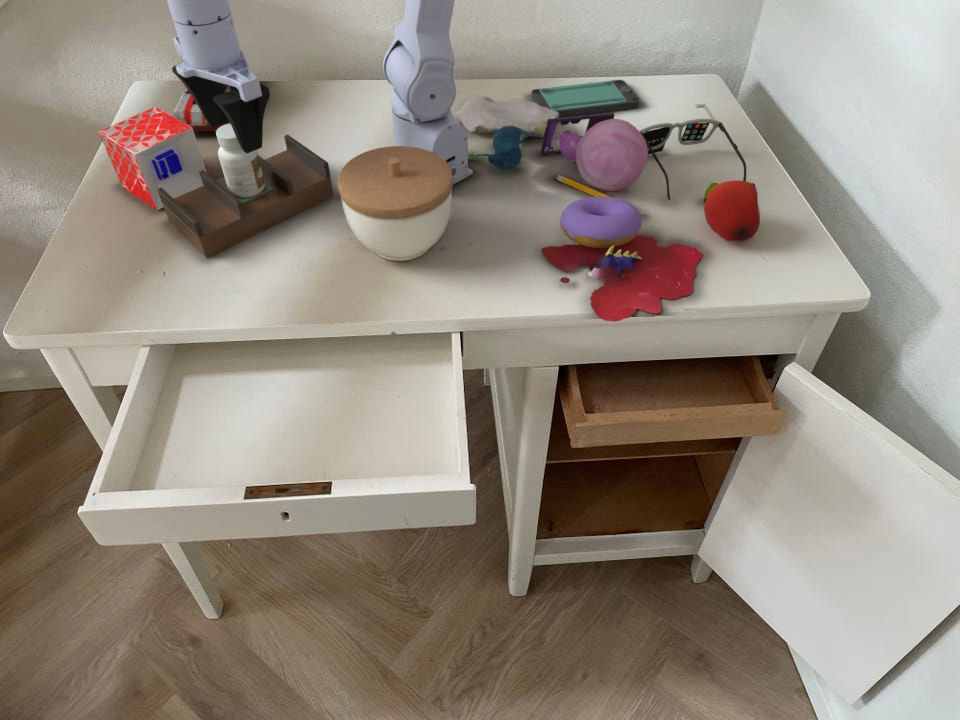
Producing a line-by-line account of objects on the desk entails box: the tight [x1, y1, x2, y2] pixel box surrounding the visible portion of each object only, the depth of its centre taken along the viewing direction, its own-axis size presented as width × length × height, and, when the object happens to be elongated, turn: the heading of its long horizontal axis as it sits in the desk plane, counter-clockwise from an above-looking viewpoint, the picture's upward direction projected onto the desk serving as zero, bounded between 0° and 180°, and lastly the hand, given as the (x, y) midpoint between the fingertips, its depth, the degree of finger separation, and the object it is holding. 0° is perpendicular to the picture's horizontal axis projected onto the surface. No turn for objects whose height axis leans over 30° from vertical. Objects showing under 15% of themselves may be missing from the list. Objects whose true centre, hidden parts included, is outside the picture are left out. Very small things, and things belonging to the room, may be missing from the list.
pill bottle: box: [215, 123, 265, 198], centre depth 84 cm, size 4×4×8 cm
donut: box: [559, 196, 643, 248], centre depth 83 cm, size 10×9×5 cm
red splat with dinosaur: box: [540, 234, 704, 323], centre depth 81 cm, size 18×15×5 cm
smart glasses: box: [638, 103, 748, 201], centre depth 95 cm, size 12×14×5 cm
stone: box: [456, 94, 560, 138], centre depth 101 cm, size 11×3×15 cm
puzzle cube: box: [98, 106, 208, 211], centre depth 90 cm, size 8×8×8 cm
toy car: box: [171, 84, 230, 131], centre depth 103 cm, size 8×18×8 cm, turn 0°
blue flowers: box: [468, 121, 547, 171], centre depth 95 cm, size 12×4×8 cm
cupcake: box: [575, 118, 649, 192], centre depth 91 cm, size 9×9×10 cm
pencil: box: [553, 173, 645, 216], centre depth 91 cm, size 1×13×1 cm, turn 52°
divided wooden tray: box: [157, 134, 335, 259], centre depth 87 cm, size 9×18×5 cm, turn 133°
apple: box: [703, 179, 761, 242], centre depth 85 cm, size 8×7×10 cm
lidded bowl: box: [337, 145, 454, 262], centre depth 81 cm, size 13×13×11 cm
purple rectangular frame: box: [540, 111, 616, 162], centre depth 95 cm, size 7×5×9 cm
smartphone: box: [530, 79, 641, 118], centre depth 107 cm, size 7×1×15 cm
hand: (235, 136), depth 82 cm, fingers open, 7 cm apart
